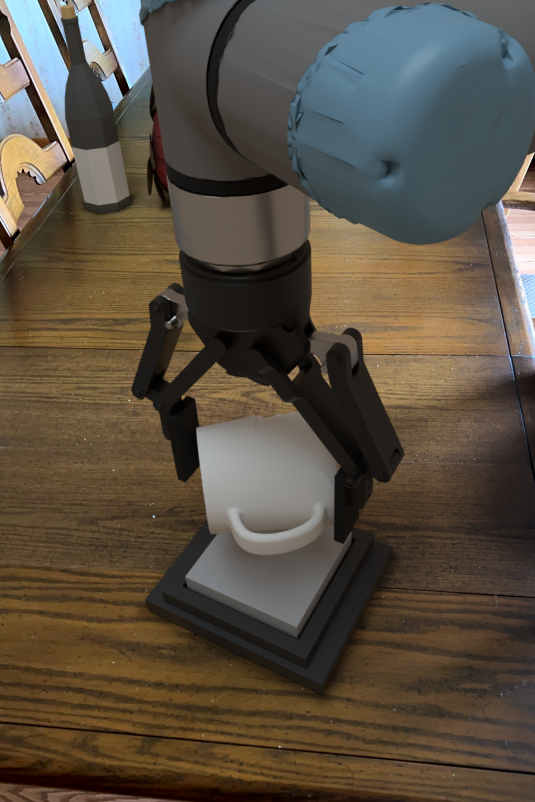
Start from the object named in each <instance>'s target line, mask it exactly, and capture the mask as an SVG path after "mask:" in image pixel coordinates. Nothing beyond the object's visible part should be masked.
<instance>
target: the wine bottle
mask: <svg viewBox="0 0 535 802" xmlns="http://www.w3.org/2000/svg"><path fill="white" fill-rule="evenodd" d="M59 9H60V14H61V17H60V22H61V24H62V28H63V33H64V38H65V42H66V47H67V51H68V56H69V60H70V67H69V70H68V75H67V79H66V82H65V89H64V121H65V124H66V127H67V128H66V129H67V131H68V136H69V140H70V146H71V150H72V152H73V153H72V154H73V157H74V162H75V166H76V167H75V168H76V171H77V174H78V179H79V183H80V188H81V192H82V196H83V200H84V204H85V208H86V210H87V211H89V212H92V213H96V214H100V215H103V214H108V213H115V212H120V211H121V210H123V209H125V208H127V207H128V206H130V205H131V195H130V190H129V185H128V179H127V174H126V169H125V164H124V159H123V152H122V148H121V143H120V138H119V133H118V127H117V121H116V115H115V111H114V106H113V103H112V100H111V98H110V96H109V93H108V91H107V90H106V87H105V86H104V83H103V82H102V80H101V79H100V78H99V76H98V75H97V74H96V72H95V71H94V70H93V68H92V67H91V65H90V64H89V62H88V61H87V58H86V52H85V47H84V43H83V37H82V33H81V28H80V23H79V22H80V20H79V16H78V15H77V14H76V9H75V4H70V3H69V4H63V5H60V6H59Z"/></svg>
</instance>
